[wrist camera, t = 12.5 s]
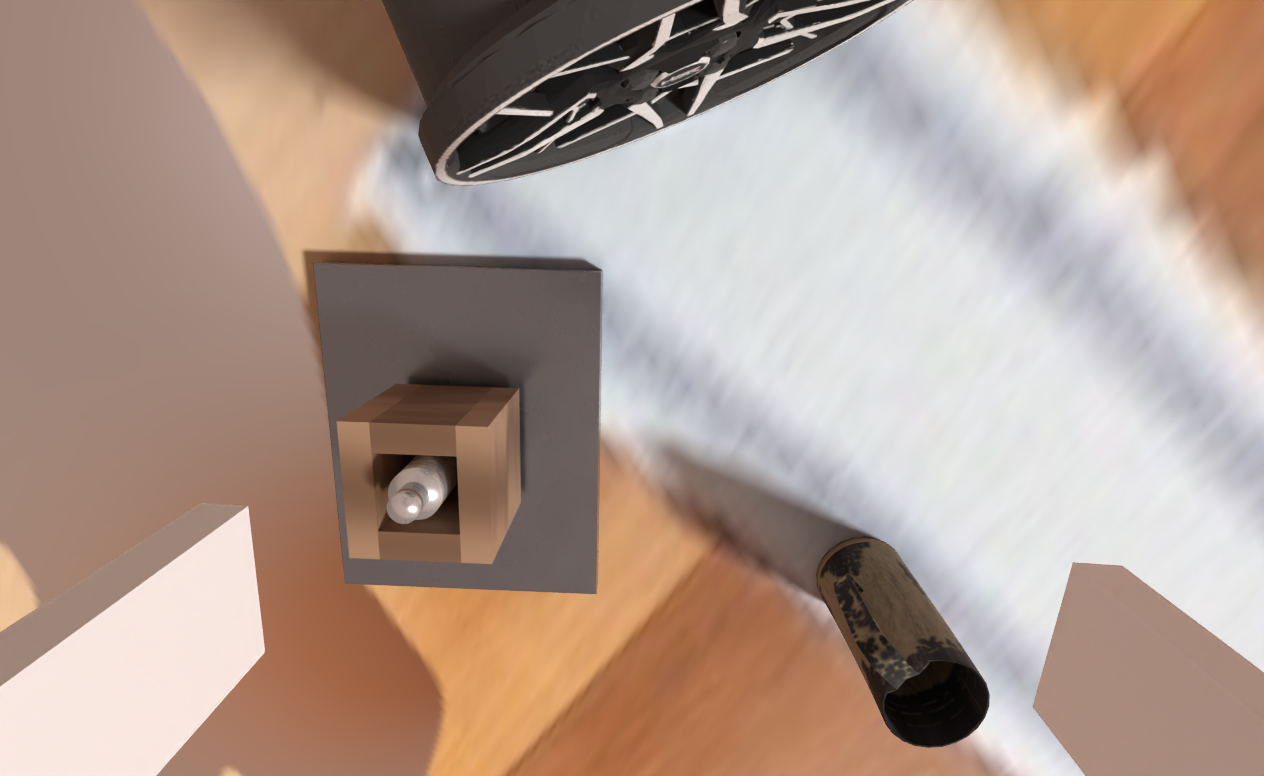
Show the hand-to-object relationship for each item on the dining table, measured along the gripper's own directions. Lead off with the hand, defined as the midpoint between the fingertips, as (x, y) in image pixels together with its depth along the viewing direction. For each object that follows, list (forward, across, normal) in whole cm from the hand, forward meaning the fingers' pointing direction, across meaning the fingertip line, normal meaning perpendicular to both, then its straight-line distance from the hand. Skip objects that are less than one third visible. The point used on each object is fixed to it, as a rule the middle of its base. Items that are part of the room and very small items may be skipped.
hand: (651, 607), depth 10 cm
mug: (+27, +14, -15) cm, 34 cm away
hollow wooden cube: (+25, -11, -8) cm, 28 cm away
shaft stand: (+27, -11, -8) cm, 30 cm away
